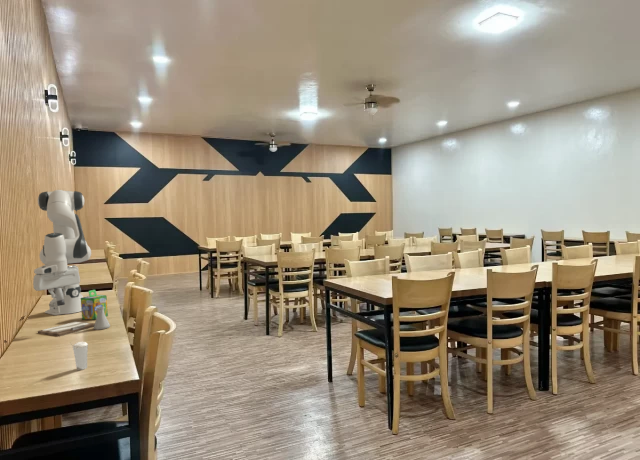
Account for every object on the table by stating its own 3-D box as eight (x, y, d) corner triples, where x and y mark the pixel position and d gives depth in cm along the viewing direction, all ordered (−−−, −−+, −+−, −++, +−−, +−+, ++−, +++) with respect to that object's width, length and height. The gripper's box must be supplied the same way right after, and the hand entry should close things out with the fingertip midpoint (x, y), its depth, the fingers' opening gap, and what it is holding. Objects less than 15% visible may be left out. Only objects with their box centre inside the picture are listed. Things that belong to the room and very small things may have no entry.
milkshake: (70, 369, 150) (68, 341, 149) (87, 365, 153) (85, 337, 153) (74, 372, 146) (71, 343, 146) (91, 368, 150) (89, 339, 150)
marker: (56, 306, 203) (50, 281, 203) (62, 304, 206) (57, 280, 206) (60, 305, 202) (55, 280, 202) (66, 304, 205) (61, 279, 205)
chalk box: (95, 320, 226) (93, 291, 225) (81, 319, 229) (79, 291, 228) (108, 315, 235) (106, 288, 234) (95, 315, 237) (93, 288, 237)
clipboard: (37, 333, 204) (37, 329, 204) (76, 323, 221) (76, 319, 221) (59, 336, 196) (59, 331, 196) (97, 325, 213) (97, 321, 213)
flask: (113, 325, 211) (111, 305, 211) (104, 329, 204) (103, 308, 203) (99, 326, 212) (97, 306, 211) (90, 330, 204) (88, 309, 204)
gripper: (74, 264, 214) (76, 292, 215) (30, 270, 196) (32, 300, 197) (81, 264, 211) (84, 292, 212) (38, 270, 193) (40, 301, 194)
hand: (58, 296), depth 204 cm, fingers closed on marker, 3 cm apart
